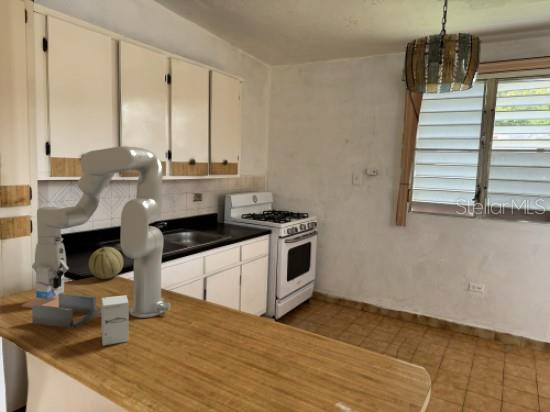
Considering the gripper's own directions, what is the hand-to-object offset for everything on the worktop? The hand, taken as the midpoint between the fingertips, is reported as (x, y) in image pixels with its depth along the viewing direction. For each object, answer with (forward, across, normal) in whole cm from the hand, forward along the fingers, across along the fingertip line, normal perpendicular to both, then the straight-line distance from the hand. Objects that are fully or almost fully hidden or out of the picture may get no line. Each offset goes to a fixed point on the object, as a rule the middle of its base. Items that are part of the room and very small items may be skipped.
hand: (50, 286), depth 139 cm
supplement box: (+7, -40, +21) cm, 46 cm away
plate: (+6, 0, 0) cm, 6 cm away
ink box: (+4, 0, 0) cm, 4 cm away
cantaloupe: (+7, -2, -33) cm, 33 cm away
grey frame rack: (+6, -15, +11) cm, 20 cm away
